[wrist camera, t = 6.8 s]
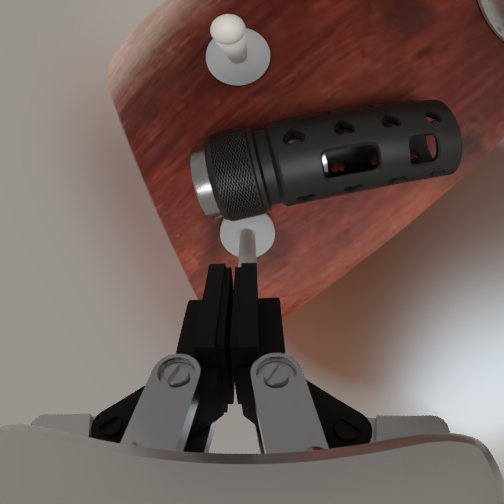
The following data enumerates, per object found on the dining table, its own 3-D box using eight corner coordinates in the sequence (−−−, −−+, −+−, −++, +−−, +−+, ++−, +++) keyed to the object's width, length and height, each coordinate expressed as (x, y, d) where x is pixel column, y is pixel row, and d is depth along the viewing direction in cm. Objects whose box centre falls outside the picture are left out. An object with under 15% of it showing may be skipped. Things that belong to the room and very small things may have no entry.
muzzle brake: (422, 162, 37) (464, 188, 28) (219, 203, 40) (210, 242, 31) (415, 93, 32) (461, 102, 23) (197, 133, 35) (179, 150, 26)
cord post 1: (268, 28, 29) (288, -28, 12) (270, 84, 32) (294, 82, 15) (206, 32, 29) (161, -18, 12) (209, 87, 32) (167, 91, 15)
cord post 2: (273, 203, 40) (292, 302, 23) (274, 250, 43) (289, 363, 26) (218, 205, 40) (197, 306, 23) (223, 253, 43) (209, 365, 26)
